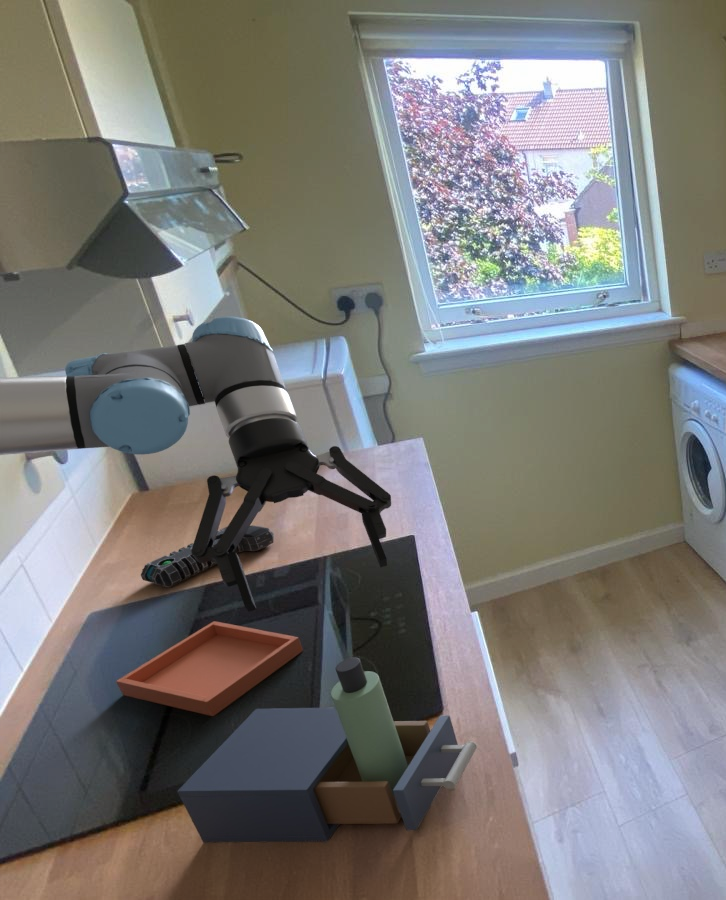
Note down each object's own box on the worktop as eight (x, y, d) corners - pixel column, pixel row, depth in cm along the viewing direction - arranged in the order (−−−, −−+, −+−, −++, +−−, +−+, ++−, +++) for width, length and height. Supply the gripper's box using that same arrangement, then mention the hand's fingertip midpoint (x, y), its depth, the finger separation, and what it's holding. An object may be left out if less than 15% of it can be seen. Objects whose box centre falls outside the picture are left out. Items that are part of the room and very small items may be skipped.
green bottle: (357, 791, 87) (313, 671, 80) (393, 762, 91) (353, 645, 84) (384, 805, 86) (341, 684, 78) (419, 774, 89) (381, 657, 82)
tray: (122, 695, 107) (115, 681, 106) (219, 634, 120) (213, 620, 119) (213, 716, 102) (206, 702, 101) (303, 650, 115) (298, 637, 114)
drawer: (491, 752, 94) (482, 714, 91) (452, 830, 83) (439, 790, 81) (357, 753, 94) (343, 716, 92) (300, 831, 84) (283, 791, 81)
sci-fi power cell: (273, 525, 145) (240, 517, 148) (166, 576, 129) (132, 566, 132) (280, 543, 146) (248, 535, 150) (175, 596, 130) (142, 585, 134)
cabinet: (386, 755, 95) (370, 707, 92) (327, 841, 84) (306, 789, 80) (276, 756, 95) (255, 708, 92) (202, 842, 84) (176, 791, 81)
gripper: (376, 419, 101) (431, 556, 96) (144, 473, 87) (195, 636, 82) (374, 392, 95) (433, 536, 90) (124, 445, 81) (178, 619, 76)
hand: (320, 584), depth 86 cm, fingers open, 13 cm apart
